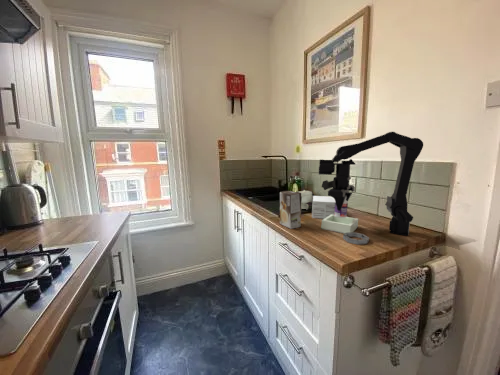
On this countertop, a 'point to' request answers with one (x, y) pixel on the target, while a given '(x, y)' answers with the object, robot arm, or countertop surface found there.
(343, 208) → the pill bottle
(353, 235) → the collar
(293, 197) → the coffee box
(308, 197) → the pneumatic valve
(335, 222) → the bin
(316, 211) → the supplement box
